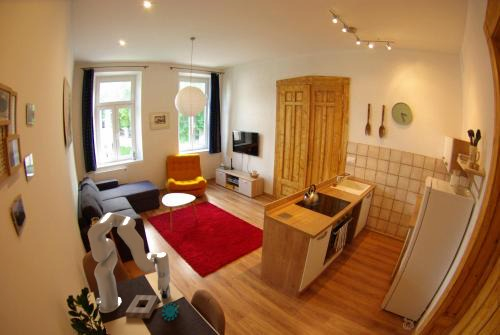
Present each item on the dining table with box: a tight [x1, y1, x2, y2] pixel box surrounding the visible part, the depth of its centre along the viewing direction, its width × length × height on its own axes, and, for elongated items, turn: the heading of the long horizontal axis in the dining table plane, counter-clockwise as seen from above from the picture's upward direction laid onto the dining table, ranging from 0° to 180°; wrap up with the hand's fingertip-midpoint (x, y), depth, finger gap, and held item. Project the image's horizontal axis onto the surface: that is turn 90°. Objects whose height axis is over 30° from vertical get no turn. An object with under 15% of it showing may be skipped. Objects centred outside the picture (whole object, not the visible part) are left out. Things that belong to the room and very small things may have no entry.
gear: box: [161, 301, 180, 322], centre depth 153 cm, size 11×6×10 cm
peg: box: [160, 285, 171, 301], centre depth 166 cm, size 4×4×7 cm
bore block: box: [125, 294, 159, 319], centre depth 158 cm, size 14×14×4 cm
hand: (165, 295), depth 167 cm, fingers closed on peg, 4 cm apart
